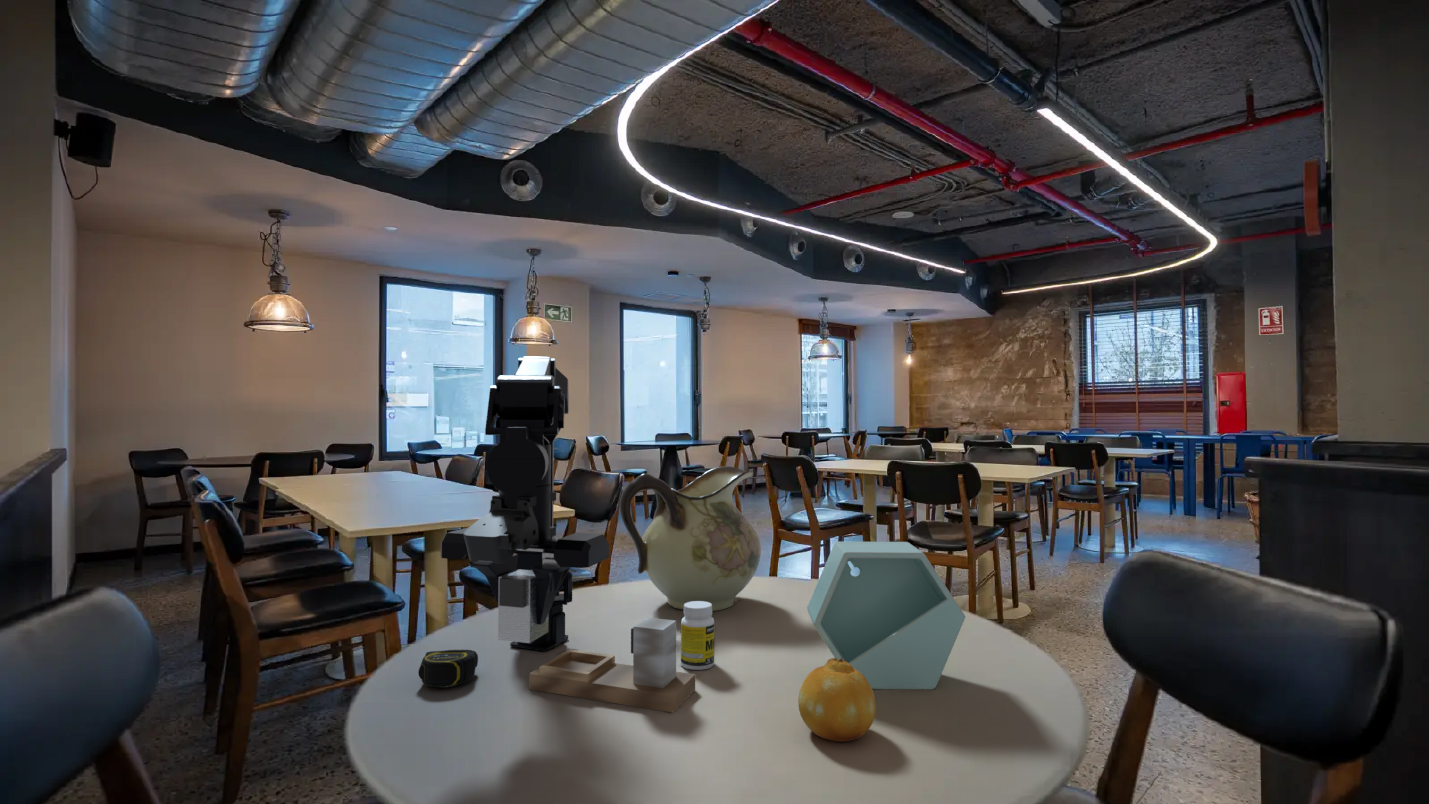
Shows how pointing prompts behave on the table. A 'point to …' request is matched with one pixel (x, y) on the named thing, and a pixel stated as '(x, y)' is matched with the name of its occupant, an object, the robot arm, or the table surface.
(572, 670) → the wooden tray stand
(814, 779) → the table surface
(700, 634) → the supplement bottle
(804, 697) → the fruit
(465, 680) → the tape measure
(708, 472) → the pitcher
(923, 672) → the planter
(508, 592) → the grey rectangular block
